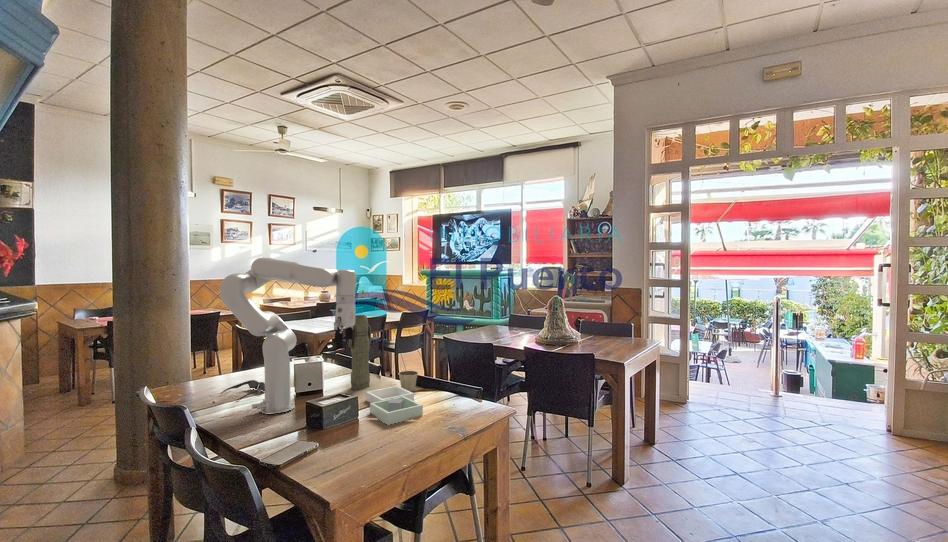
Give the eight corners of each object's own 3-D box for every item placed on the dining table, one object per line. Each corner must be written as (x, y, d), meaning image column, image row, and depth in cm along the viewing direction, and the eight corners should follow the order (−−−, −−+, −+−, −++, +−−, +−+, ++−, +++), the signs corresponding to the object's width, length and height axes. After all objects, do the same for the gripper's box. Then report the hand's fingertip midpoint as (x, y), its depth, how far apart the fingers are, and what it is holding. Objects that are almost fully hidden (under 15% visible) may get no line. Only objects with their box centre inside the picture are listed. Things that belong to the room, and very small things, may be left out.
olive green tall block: (375, 386, 212) (375, 314, 212) (357, 392, 202) (357, 317, 202) (363, 383, 217) (362, 313, 217) (344, 389, 207) (344, 316, 207)
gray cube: (400, 416, 167) (400, 403, 167) (387, 415, 168) (387, 402, 168) (404, 411, 172) (403, 399, 172) (391, 411, 173) (391, 398, 173)
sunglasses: (270, 393, 201) (269, 383, 201) (235, 407, 187) (233, 396, 186) (250, 388, 210) (249, 378, 209) (214, 401, 196) (213, 391, 195)
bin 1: (381, 411, 175) (381, 400, 175) (366, 402, 187) (365, 391, 187) (414, 403, 184) (414, 393, 184) (397, 395, 196) (397, 385, 196)
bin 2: (387, 425, 159) (387, 413, 159) (370, 414, 171) (370, 403, 171) (422, 416, 169) (422, 405, 168) (403, 407, 180) (403, 396, 180)
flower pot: (420, 388, 208) (420, 370, 207) (415, 394, 198) (415, 375, 198) (401, 388, 208) (401, 370, 208) (395, 394, 199) (395, 375, 199)
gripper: (344, 301, 170) (343, 345, 170) (362, 298, 187) (360, 338, 187) (326, 300, 171) (325, 343, 171) (345, 297, 188) (344, 337, 188)
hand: (343, 340), depth 179 cm, fingers open, 9 cm apart
